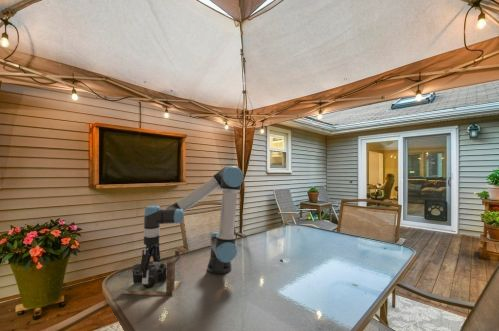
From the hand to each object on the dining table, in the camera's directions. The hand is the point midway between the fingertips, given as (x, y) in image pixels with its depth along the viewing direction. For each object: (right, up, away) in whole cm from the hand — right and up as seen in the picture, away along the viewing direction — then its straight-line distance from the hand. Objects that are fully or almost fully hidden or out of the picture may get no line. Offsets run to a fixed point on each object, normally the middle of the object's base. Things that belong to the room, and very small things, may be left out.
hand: (150, 278), depth 118 cm
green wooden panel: (+2, -5, 0) cm, 5 cm away
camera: (-1, -3, 0) cm, 3 cm away
